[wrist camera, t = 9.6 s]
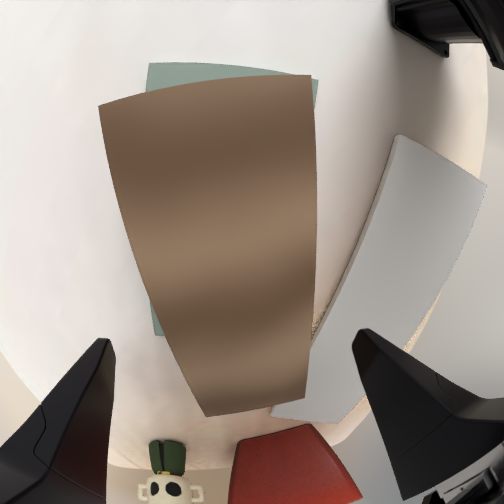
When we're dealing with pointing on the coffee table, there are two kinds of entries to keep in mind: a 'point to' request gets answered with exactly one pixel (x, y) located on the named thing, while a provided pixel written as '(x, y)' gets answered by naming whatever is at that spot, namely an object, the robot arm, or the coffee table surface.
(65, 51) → the coffee table surface
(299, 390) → the walnut shelf board
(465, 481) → the robot arm
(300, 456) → the plant pot
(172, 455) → the character mug
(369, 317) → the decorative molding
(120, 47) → the coffee table surface
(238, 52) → the coffee table surface
